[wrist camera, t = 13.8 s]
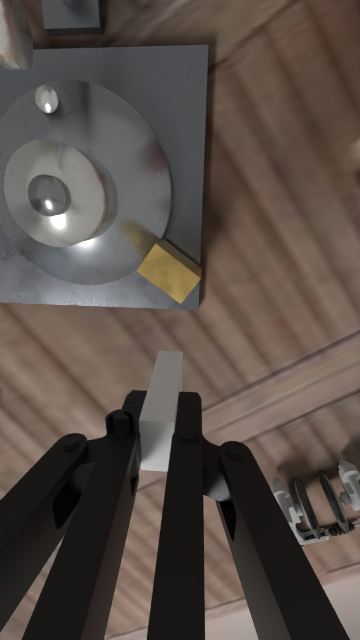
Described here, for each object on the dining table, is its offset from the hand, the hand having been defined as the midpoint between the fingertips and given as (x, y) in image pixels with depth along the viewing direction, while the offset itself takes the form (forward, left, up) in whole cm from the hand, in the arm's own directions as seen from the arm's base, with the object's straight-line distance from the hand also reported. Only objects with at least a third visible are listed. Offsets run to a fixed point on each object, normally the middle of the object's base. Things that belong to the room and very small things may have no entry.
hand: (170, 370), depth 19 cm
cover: (-11, +11, -13) cm, 20 cm away
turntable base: (-11, +11, -17) cm, 23 cm away
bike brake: (+21, -32, -17) cm, 42 cm away
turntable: (-9, +10, -15) cm, 20 cm away
